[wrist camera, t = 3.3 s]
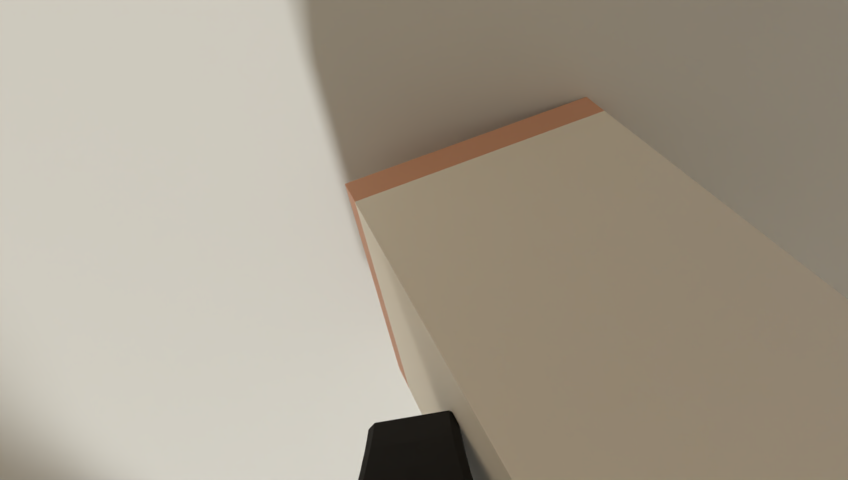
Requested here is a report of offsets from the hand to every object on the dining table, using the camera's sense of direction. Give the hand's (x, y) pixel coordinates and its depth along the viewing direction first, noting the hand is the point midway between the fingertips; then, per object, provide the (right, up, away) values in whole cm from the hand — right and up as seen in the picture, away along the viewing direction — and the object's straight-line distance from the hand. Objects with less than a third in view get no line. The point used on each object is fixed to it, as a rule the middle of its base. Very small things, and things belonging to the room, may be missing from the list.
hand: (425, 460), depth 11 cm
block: (+1, +3, +4) cm, 5 cm away
